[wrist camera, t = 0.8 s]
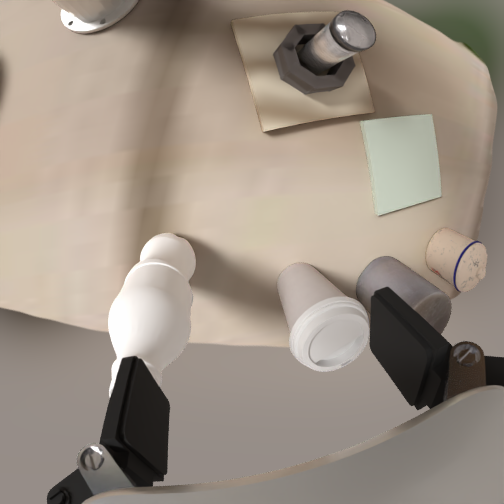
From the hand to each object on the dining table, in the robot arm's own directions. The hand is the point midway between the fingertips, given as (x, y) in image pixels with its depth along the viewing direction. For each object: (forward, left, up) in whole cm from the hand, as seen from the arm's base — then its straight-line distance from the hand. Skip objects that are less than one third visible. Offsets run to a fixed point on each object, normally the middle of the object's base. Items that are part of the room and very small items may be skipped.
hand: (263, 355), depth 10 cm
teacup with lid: (+18, +37, -28) cm, 50 cm away
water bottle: (+4, -9, -28) cm, 30 cm away
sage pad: (0, +28, -28) cm, 40 cm away
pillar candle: (+19, +21, -28) cm, 40 cm away
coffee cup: (+14, +7, -28) cm, 32 cm away
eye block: (-16, +15, -28) cm, 36 cm away
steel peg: (-16, +15, -27) cm, 35 cm away
